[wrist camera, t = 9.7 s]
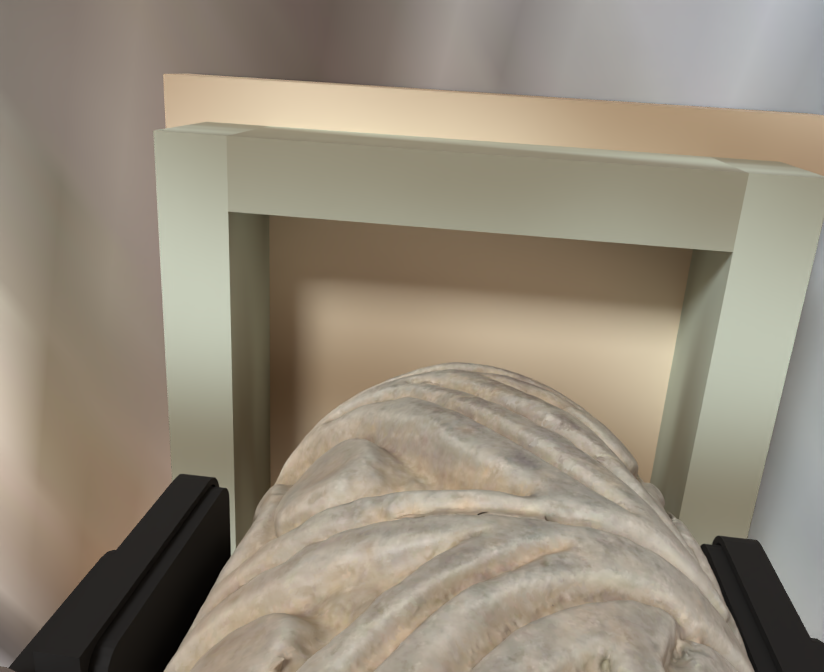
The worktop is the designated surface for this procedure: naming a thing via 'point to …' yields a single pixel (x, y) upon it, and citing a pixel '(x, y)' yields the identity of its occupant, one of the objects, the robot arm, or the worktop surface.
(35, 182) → the worktop surface
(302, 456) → the carving
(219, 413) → the beige shallow tray
